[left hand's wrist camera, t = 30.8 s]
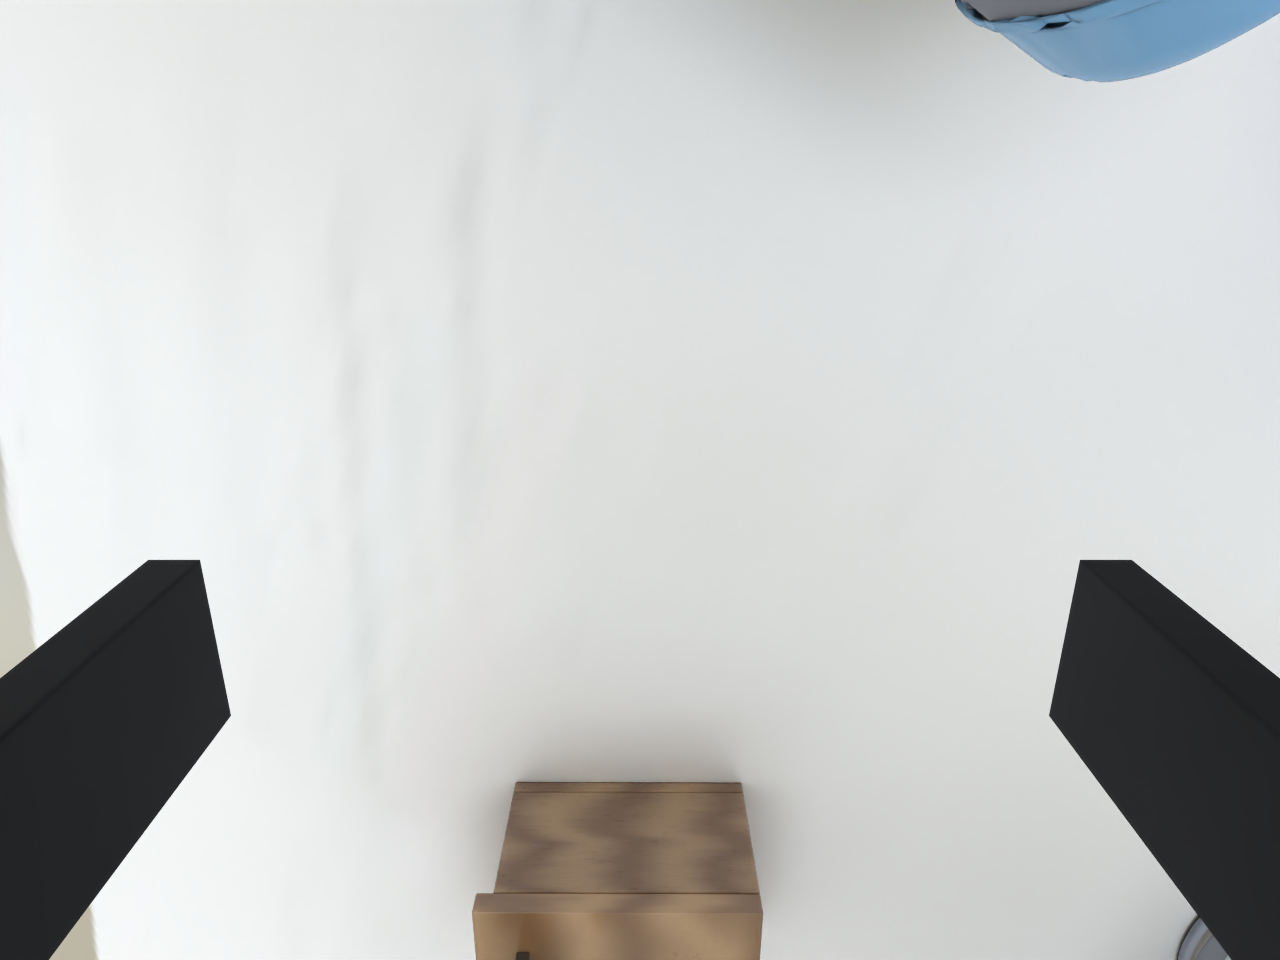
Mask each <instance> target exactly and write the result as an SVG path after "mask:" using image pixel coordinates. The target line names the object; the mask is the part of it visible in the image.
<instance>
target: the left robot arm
mask: <svg viewBox="0 0 1280 960" xmlns="http://www.w3.org/2000/svg"><path fill="white" fill-rule="evenodd" d="M955 3H956V5H957V7H958V8H959V10H960V11H961V12H962V13H963V14H964V15H965V16H966V17H967V18H968V19H969V20H970V21H971V22H973V23H974V24H977V25H979V26H981V27H985V28H987V29H990V30H992V31H994V32H999V33H1001V34H1002V35H1003V36H1005V37H1006V38H1007V39H1009V40H1010V41H1011V42H1012V43H1014V44H1015V45H1016V46H1018V47H1019V48H1020V49H1022V50H1023V51H1024V52H1025V53H1027V54H1028V55H1029V56H1031V57H1032V58H1033V59H1035V60H1036V61H1037V62H1039V63H1040V64H1041V65H1042V66H1044V67H1045V68H1047V69H1048V70H1050V71H1051V72H1054V73H1056V74H1059V75H1061V76H1064V77H1069V78H1078V79H1081V80H1085V81H1097V82H1113V81H1121V80H1127V79H1132V78H1136V77H1141V76H1145V75H1148V74H1152V73H1156V72H1159V71H1162V70H1165V69H1168V68H1171V67H1173V66H1176V65H1179V64H1181V63H1184V62H1186V61H1189V60H1191V59H1194V58H1196V57H1198V56H1200V55H1202V54H1204V53H1207V52H1209V51H1211V50H1213V49H1215V48H1217V47H1219V46H1221V45H1223V44H1225V43H1227V42H1229V41H1231V40H1233V39H1234V38H1236V37H1238V36H1240V35H1242V34H1244V33H1246V32H1247V31H1249V30H1251V29H1253V28H1255V27H1257V26H1258V25H1260V24H1262V23H1264V22H1265V21H1267V20H1269V19H1270V18H1272V17H1274V16H1275V15H1277V14H1278V13H1280V0H955ZM230 716H231V714H230V709H229V704H228V699H227V694H226V689H225V684H224V679H223V674H222V669H221V664H220V659H219V654H218V649H217V644H216V639H215V634H214V629H213V624H212V619H211V614H210V609H209V604H208V599H207V594H206V589H205V583H204V578H203V573H202V568H201V563H200V560H148V561H147V562H145V563H144V564H143V565H142V566H140V567H139V568H138V569H137V570H135V571H134V572H133V573H132V574H130V575H129V576H128V577H127V578H125V579H124V580H123V581H122V582H120V583H119V584H118V585H117V586H115V587H114V588H113V589H112V590H110V591H109V592H108V593H107V594H105V595H104V596H103V597H102V598H100V599H99V600H98V601H97V602H95V603H94V604H93V605H92V606H90V607H89V608H88V609H87V610H85V611H84V612H83V613H82V614H80V615H79V616H78V617H77V618H75V619H74V620H73V621H72V622H70V623H69V624H68V625H67V626H65V627H64V628H63V629H62V630H60V631H59V632H58V633H57V634H55V635H54V636H53V637H52V638H50V639H49V640H48V641H47V642H45V643H44V644H43V645H42V646H40V647H39V648H38V649H37V650H35V651H34V652H33V653H32V654H30V655H29V656H28V657H27V658H25V659H24V660H23V661H22V662H20V663H19V664H18V665H16V666H15V667H14V668H13V669H11V670H10V671H9V672H8V673H6V674H5V675H4V676H3V677H1V678H0V960H49V959H50V957H51V956H52V955H53V953H54V952H55V951H56V949H57V948H58V947H59V945H60V944H61V943H62V941H63V940H64V939H65V937H66V936H67V935H68V933H69V932H70V930H71V929H72V928H73V926H74V925H75V924H76V922H77V921H78V920H79V918H80V917H81V916H82V914H83V913H84V912H85V910H86V909H87V908H88V906H89V905H90V904H91V902H92V901H93V900H94V898H95V897H96V896H97V894H98V893H99V892H100V890H101V889H102V888H103V886H104V885H105V884H106V882H107V881H108V880H109V878H110V877H111V876H112V874H113V873H114V872H115V870H116V869H117V868H118V866H119V865H120V864H121V862H122V861H123V859H124V858H125V857H126V855H127V854H128V853H129V851H130V850H131V849H132V847H133V846H134V845H135V843H136V842H137V841H138V839H139V838H140V837H141V835H142V834H143V833H144V831H145V830H146V829H147V827H148V826H149V825H150V823H151V822H152V821H153V819H154V818H155V817H156V815H157V814H158V813H159V811H160V810H161V809H162V807H163V806H164V805H165V803H166V802H167V801H168V799H169V798H170V796H171V795H172V794H173V792H174V791H175V790H176V788H177V787H178V786H179V784H180V783H181V782H182V780H183V779H184V778H185V776H186V775H187V774H188V772H189V771H190V770H191V768H192V767H193V766H194V764H195V763H196V762H197V760H198V759H199V758H200V756H201V755H202V754H203V752H204V751H205V750H206V748H207V747H208V746H209V744H210V743H211V742H212V740H213V739H214V738H215V736H216V735H217V733H218V732H219V731H220V729H221V728H222V727H223V725H224V724H225V723H226V721H227V720H228V719H229V717H230ZM1049 716H1050V717H1051V719H1052V720H1053V721H1054V723H1055V724H1056V725H1057V727H1058V728H1059V729H1060V731H1061V732H1062V733H1063V735H1064V736H1065V738H1066V739H1067V740H1068V742H1069V743H1070V744H1071V746H1072V747H1073V748H1074V750H1075V751H1076V752H1077V754H1078V755H1079V756H1080V758H1081V759H1082V760H1083V762H1084V763H1085V764H1086V766H1087V767H1088V768H1089V770H1090V771H1091V772H1092V774H1093V775H1094V776H1095V778H1096V779H1097V780H1098V782H1099V783H1100V784H1101V786H1102V787H1103V788H1104V790H1105V791H1106V792H1107V794H1108V795H1109V796H1110V798H1111V799H1112V801H1113V802H1114V803H1115V805H1116V806H1117V807H1118V809H1119V810H1120V811H1121V813H1122V814H1123V815H1124V817H1125V818H1126V819H1127V821H1128V822H1129V823H1130V825H1131V826H1132V827H1133V829H1134V830H1135V831H1136V833H1137V834H1138V835H1139V837H1140V838H1141V839H1142V841H1143V842H1144V843H1145V845H1146V846H1147V847H1148V849H1149V850H1150V851H1151V853H1152V854H1153V855H1154V857H1155V858H1156V859H1157V861H1158V862H1159V864H1160V865H1161V866H1162V868H1163V869H1164V870H1165V872H1166V873H1167V874H1168V876H1169V877H1170V878H1171V880H1172V881H1173V882H1174V884H1175V885H1176V886H1177V888H1178V889H1179V890H1180V892H1181V893H1182V894H1183V896H1184V897H1185V898H1186V900H1187V901H1188V902H1189V904H1190V905H1191V906H1192V908H1193V909H1194V910H1195V912H1196V913H1197V914H1198V916H1199V917H1200V918H1201V920H1202V921H1203V922H1204V924H1205V925H1206V927H1207V928H1208V929H1209V931H1210V932H1211V933H1212V935H1213V936H1214V937H1215V939H1216V940H1217V941H1218V943H1219V944H1220V945H1221V947H1222V948H1223V949H1224V951H1225V952H1226V953H1227V955H1228V956H1229V957H1230V959H1231V960H1280V678H1279V677H1277V676H1276V675H1275V674H1274V673H1272V672H1271V671H1270V670H1269V669H1267V668H1266V667H1265V666H1264V665H1262V664H1261V663H1260V662H1258V661H1257V660H1256V659H1255V658H1253V657H1252V656H1251V655H1250V654H1248V653H1247V652H1246V651H1245V650H1243V649H1242V648H1241V647H1240V646H1238V645H1237V644H1236V643H1235V642H1233V641H1232V640H1231V639H1230V638H1228V637H1227V636H1226V635H1225V634H1223V633H1222V632H1221V631H1220V630H1218V629H1217V628H1216V627H1215V626H1213V625H1212V624H1211V623H1210V622H1208V621H1207V620H1206V619H1205V618H1203V617H1202V616H1201V615H1200V614H1198V613H1197V612H1196V611H1195V610H1193V609H1192V608H1191V607H1190V606H1188V605H1187V604H1186V603H1185V602H1183V601H1182V600H1181V599H1180V598H1178V597H1177V596H1176V595H1175V594H1173V593H1172V592H1171V591H1170V590H1168V589H1167V588H1166V587H1165V586H1163V585H1162V584H1161V583H1160V582H1158V581H1157V580H1156V579H1155V578H1153V577H1152V576H1151V575H1150V574H1148V573H1147V572H1146V571H1145V570H1143V569H1142V568H1141V567H1140V566H1138V565H1137V564H1136V563H1135V562H1133V561H1132V560H1080V563H1079V568H1078V573H1077V578H1076V583H1075V589H1074V594H1073V599H1072V604H1071V609H1070V614H1069V619H1068V624H1067V629H1066V634H1065V639H1064V644H1063V649H1062V654H1061V659H1060V664H1059V669H1058V674H1057V679H1056V684H1055V689H1054V694H1053V699H1052V704H1051V709H1050V714H1049Z"/></svg>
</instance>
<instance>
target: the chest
mask: <svg viewBox="0 0 1280 960" xmlns="http://www.w3.org/2000/svg"><path fill="white" fill-rule="evenodd" d="M494 894H759V895H760V892H759V886H758V880H757V874H756V868H755V862H754V856H753V850H752V844H751V838H750V832H749V826H748V820H747V814H746V808H745V802H744V796H743V790H742V785H741V783H516V784H515V789H514V794H513V798H512V803H511V808H510V813H509V818H508V823H507V828H506V833H505V838H504V843H503V848H502V853H501V858H500V863H499V868H498V873H497V878H496V883H495V888H494Z"/></svg>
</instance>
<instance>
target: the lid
mask: <svg viewBox="0 0 1280 960" xmlns="http://www.w3.org/2000/svg"><path fill="white" fill-rule="evenodd" d="M472 917H473V929H474V940H475V952H476V960H760V949H761V935H762V920H763V910H762V904H761V898H760V895H759V894H493V893H477V894H476V897H475V902H474V906H473V910H472Z"/></svg>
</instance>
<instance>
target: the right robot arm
mask: <svg viewBox="0 0 1280 960" xmlns="http://www.w3.org/2000/svg"><path fill="white" fill-rule="evenodd" d="M1178 960H1231V959H1230V957H1229V956H1228V955H1227V953H1226V952H1225V951H1224V949H1223V948H1222V947H1221V945H1220V944H1219V943H1218V941H1217V940H1216V939H1215V937H1214V936H1213V935H1212V933H1211V932H1210V931H1209V929H1208V928H1207V927H1206V925H1205V924H1204V922H1203V921H1202V920H1201V918H1199V919H1198V920H1197V921H1196V922H1195V924H1194V925H1193V926H1192V928H1191V929H1190V931H1189V932H1188V934H1187V936H1186V937H1185V939H1184V942H1183V944H1182V946H1181V949H1180V952H1179V956H1178Z"/></svg>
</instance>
